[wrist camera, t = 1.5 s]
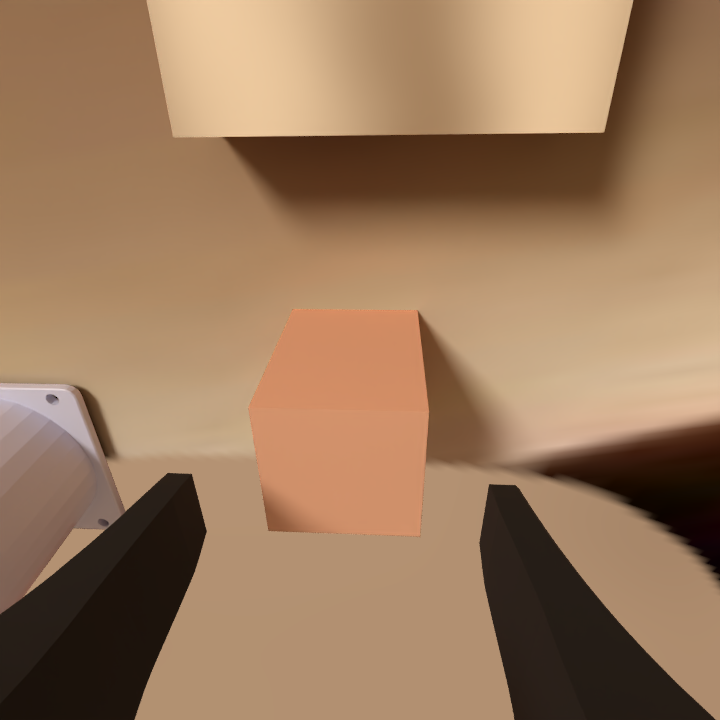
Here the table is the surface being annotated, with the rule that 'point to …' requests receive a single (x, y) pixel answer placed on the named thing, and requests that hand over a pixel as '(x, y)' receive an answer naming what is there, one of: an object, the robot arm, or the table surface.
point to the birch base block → (387, 66)
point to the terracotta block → (343, 424)
